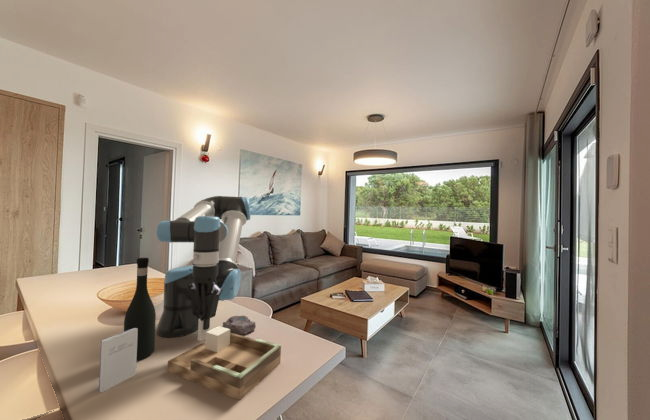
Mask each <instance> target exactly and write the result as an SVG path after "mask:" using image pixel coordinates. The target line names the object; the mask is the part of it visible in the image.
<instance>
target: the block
mask: <svg viewBox="0 0 650 420" xmlns="http://www.w3.org/2000/svg"><path fill="white" fill-rule="evenodd" d="M204 342H205V349H208V350H211V351H214V352H219V351H221V350H222V349H224V348H226V347H227V346H229V345H230V329H228V328H224V327H223V326H221V325H218V326H216V327H214V328H211V329H208V331H207V332H206V339H205V341H204Z"/></svg>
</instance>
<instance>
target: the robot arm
mask: <svg viewBox="0 0 650 420" xmlns="http://www.w3.org/2000/svg"><path fill="white" fill-rule="evenodd" d="M250 220H251V203H250V198H248V197H246V196H245V197H244V196H227V195H225V196H224V195H223V196H222V195H215V196H210V197H207V198H203V199H202V200H199V201H198V202H196V204H195V205H194V206H193V208H191V209H190V210H188V211H187V212H185V213H184V214H182V215H180V216H179V217H177V218H176V219H174V220H162V221H160V222H159V223H158V224H157V227H156V237H157V240H158V241H159V242H162V243H193V253H192V255H193V256H192V257H193V258H192V264H191V265H183V266H177V267H175V268H171V269H168V270H167V271H166V272H165V275H164V282H163V285H164V286H163V311H162V312H161V315H160V319H159V321H158V323H157V326H156V334H157V335H158V336H160V337H163V338H176V337H178V338H179V337H184V336H189V335H191V334H193V333H195V332H197V341H199V342H202V341H204V340H206V332H207V331H209V330H210V324H211V319H212V318H214V317H216V313H217V310H218V305H219V301H222V302H224V301H229V300H230V301H231V300H233V299H235V298H236V296H237V295H238V292H239V290H240V287H241V280H242V271H241V270H240V268H239V266H238V264H236V263H237V262H236V261H237V256H238V250H239V245H240V241H241V240H240V239H241V235H242V230H243V226H244V225H246V223H247V221H250ZM221 221H222V222H221Z"/></svg>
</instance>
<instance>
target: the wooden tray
mask: <svg viewBox="0 0 650 420" xmlns="http://www.w3.org/2000/svg"><path fill="white" fill-rule="evenodd" d="M281 352H282V344H278V343H274V342H271V341H268V340H264V339H260V338H251V337H249V336H245V335H242V334H234V333H231V332H230V345H229V346H227V347H226V348H224V349H222V350H221V351H219V352H214V351H211V350H208V349H205V341H204V342H202V343H200V344H198V345H196V346H194V347H192V348H191V349H189V350H187V351H184V352H182V353H181V354H179V355H177V356H175V357H173V358H171V359H169V360H167V372H169V373H171V374H173V375H175V376H178V377H181V378H183V379H186V380H188V381H191V382H193V383H195V384H196V383H197V384H198V385H201V386H204V387H206V388H208V389H211V390H213V391H216V392H218V393H220V394H223V395H225V396H227V397H231V398H233V399H236V400H238V401H241V399H243V398H244V397H246V395H248V393H249V392H250V391H252V390H253V389H254V388H255V387H256V386H257V385H258V384H260V382H262V381H263V380H264V379H265V378H266V377H267V376H269V374H270V373H272V371H273V370H275V369H276V368H277V367H278V366H279V365H280V364H281V354H282V353H281Z"/></svg>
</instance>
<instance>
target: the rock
mask: <svg viewBox="0 0 650 420" xmlns="http://www.w3.org/2000/svg"><path fill="white" fill-rule="evenodd" d="M222 327H224V328H228V329H230V332H231V333H234V334H238V335H247V334H248V333H252V332H255V329H256V322H255V321H253V320H250V319H249V317H248V316H247V315H234V316H231V317H229V318H228V319H226V320H225V321H223V322H222Z"/></svg>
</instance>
